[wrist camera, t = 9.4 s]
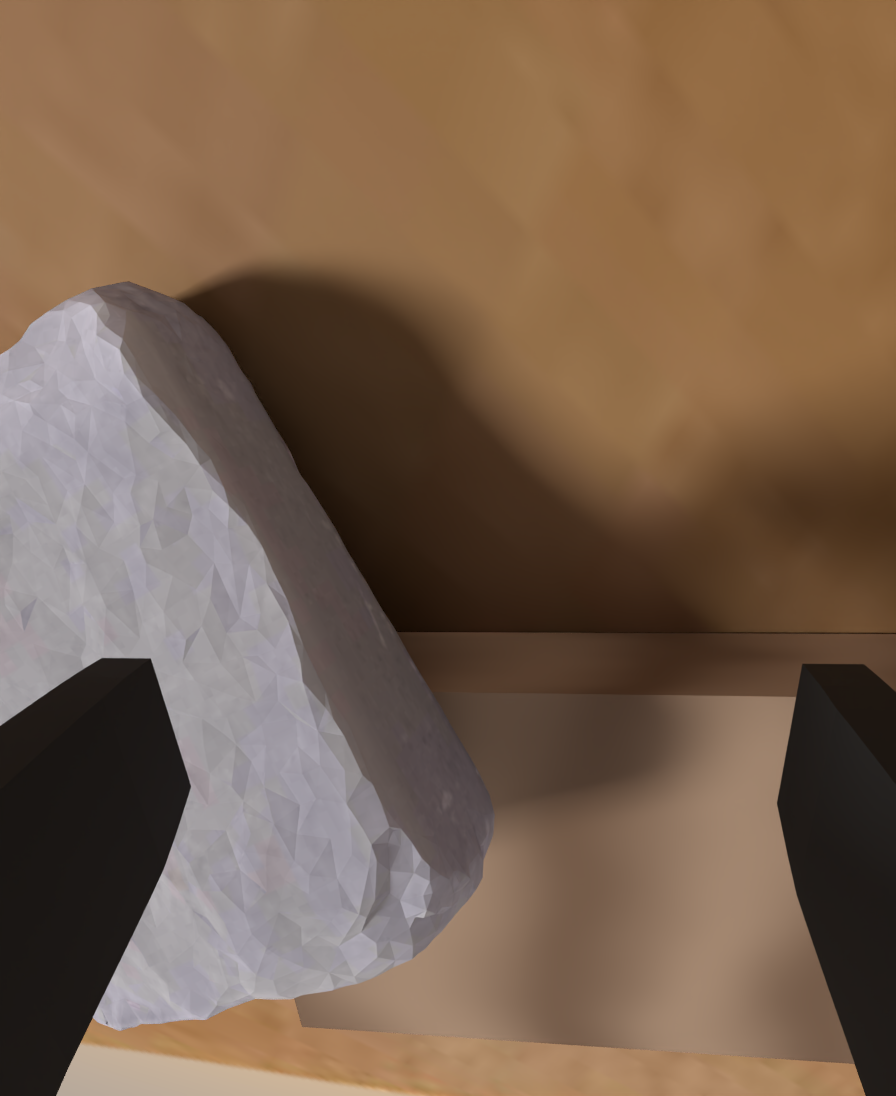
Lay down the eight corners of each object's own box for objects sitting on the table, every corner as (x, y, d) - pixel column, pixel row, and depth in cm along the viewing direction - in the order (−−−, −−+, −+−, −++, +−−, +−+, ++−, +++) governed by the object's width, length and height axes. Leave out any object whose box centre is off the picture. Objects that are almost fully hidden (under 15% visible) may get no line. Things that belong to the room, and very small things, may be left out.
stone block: (226, 917, 20) (562, 821, 15) (62, 1083, 16) (448, 1031, 11) (-25, 497, 20) (232, 247, 14) (-260, 555, 15) (-20, 236, 10)
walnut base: (1005, 634, 16) (1060, 700, 15) (888, 991, 22) (916, 1067, 21) (240, 631, 18) (208, 689, 17) (319, 959, 24) (302, 1026, 23)
